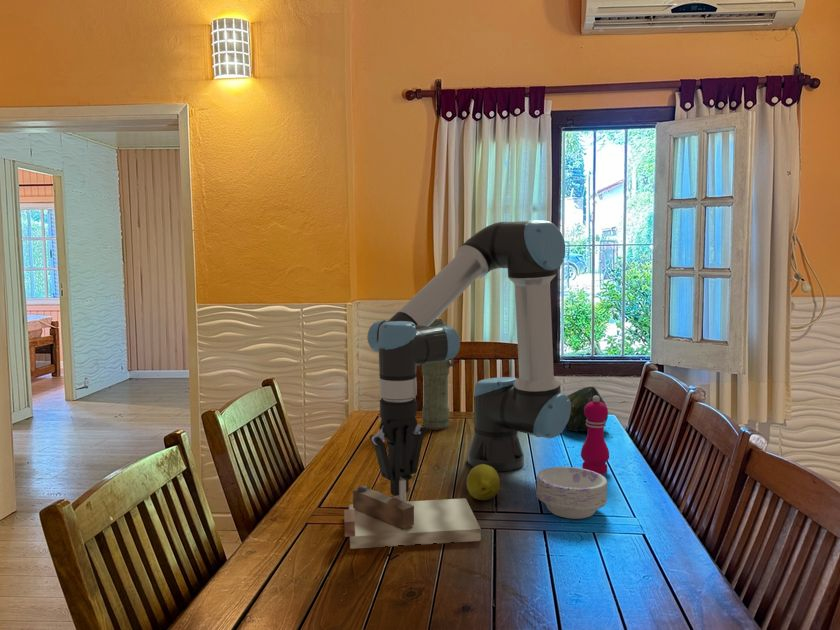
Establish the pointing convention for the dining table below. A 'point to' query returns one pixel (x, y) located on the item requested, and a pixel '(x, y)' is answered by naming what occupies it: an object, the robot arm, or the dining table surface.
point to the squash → (581, 408)
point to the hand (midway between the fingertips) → (399, 508)
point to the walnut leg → (383, 507)
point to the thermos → (436, 391)
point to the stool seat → (415, 525)
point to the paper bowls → (571, 491)
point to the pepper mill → (595, 437)
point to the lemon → (483, 482)
